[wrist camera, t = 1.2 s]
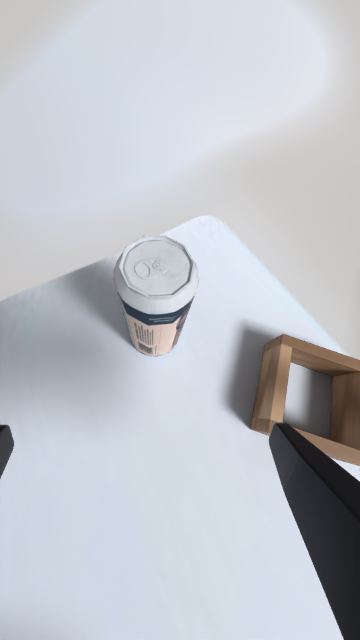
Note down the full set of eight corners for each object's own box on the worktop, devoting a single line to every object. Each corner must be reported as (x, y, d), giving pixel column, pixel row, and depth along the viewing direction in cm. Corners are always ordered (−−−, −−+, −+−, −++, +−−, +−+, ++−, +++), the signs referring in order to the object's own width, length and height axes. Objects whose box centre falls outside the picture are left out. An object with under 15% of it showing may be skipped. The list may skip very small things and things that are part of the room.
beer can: (186, 345, 23) (218, 286, 12) (142, 365, 22) (131, 320, 11) (166, 305, 24) (178, 219, 13) (123, 322, 23) (97, 242, 12)
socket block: (338, 460, 21) (373, 469, 17) (250, 429, 21) (268, 432, 18) (342, 370, 24) (372, 364, 21) (265, 344, 24) (283, 333, 21)
